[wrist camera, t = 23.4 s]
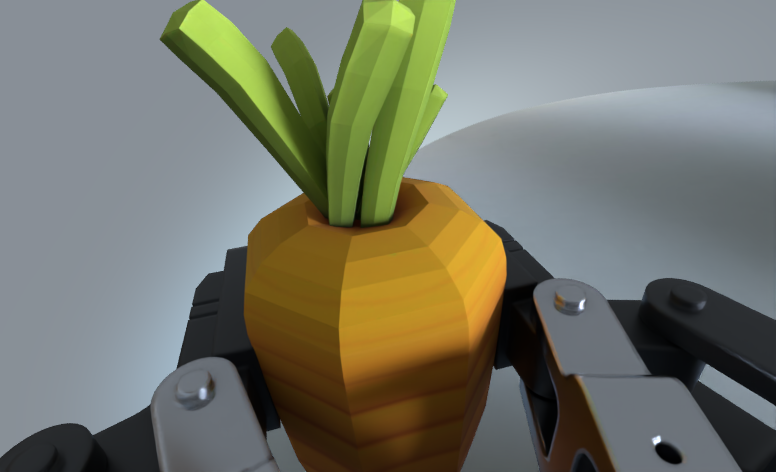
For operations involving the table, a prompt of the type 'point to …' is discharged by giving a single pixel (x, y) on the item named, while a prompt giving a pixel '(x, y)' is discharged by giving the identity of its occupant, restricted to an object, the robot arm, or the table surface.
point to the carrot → (360, 244)
